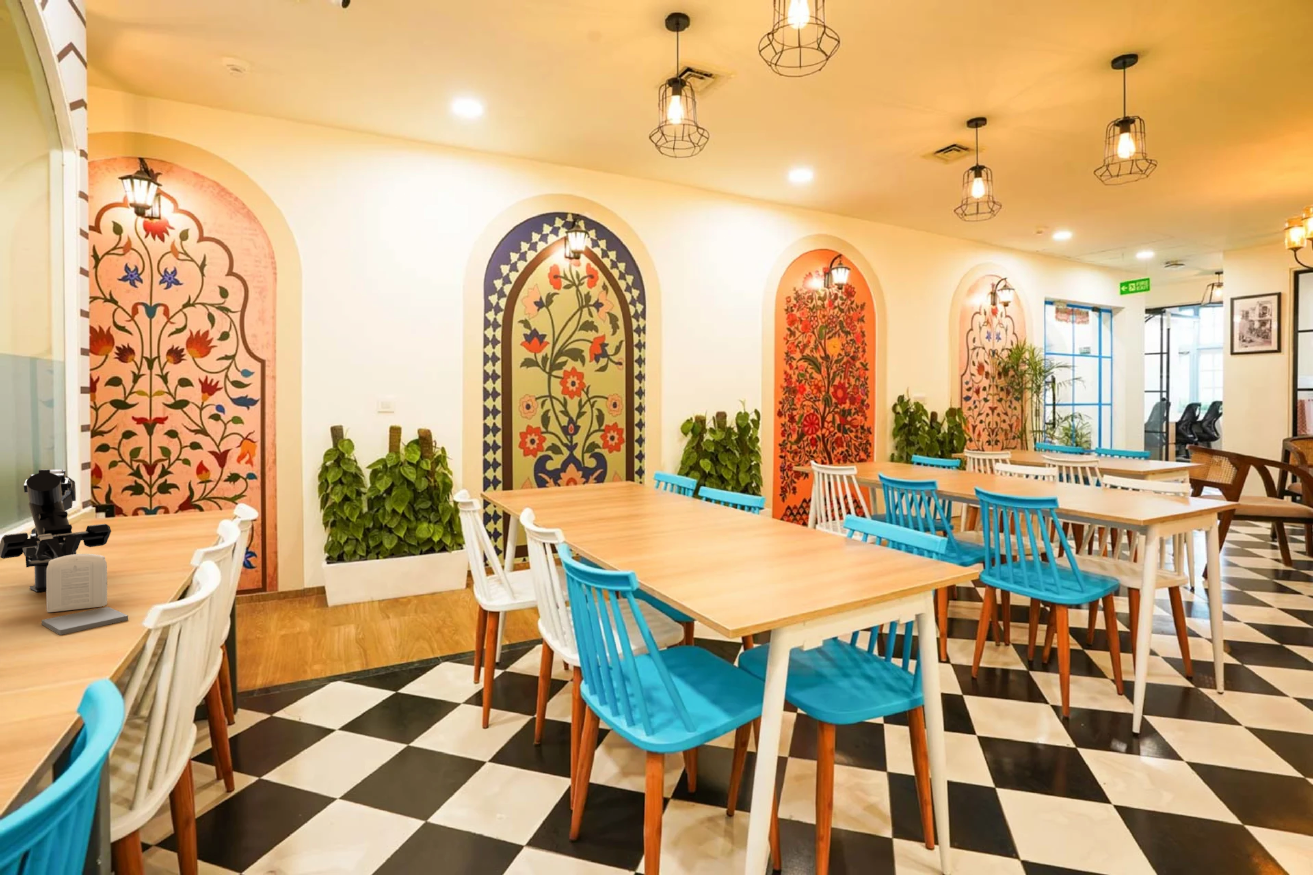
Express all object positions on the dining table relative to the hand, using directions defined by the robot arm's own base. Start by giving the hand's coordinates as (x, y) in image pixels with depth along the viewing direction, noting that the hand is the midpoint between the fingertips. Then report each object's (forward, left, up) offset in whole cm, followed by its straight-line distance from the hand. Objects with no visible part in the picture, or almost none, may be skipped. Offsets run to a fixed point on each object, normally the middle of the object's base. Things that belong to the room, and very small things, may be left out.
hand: (66, 568), depth 145 cm
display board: (+20, -2, -8) cm, 21 cm away
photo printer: (+6, 0, -8) cm, 10 cm away
